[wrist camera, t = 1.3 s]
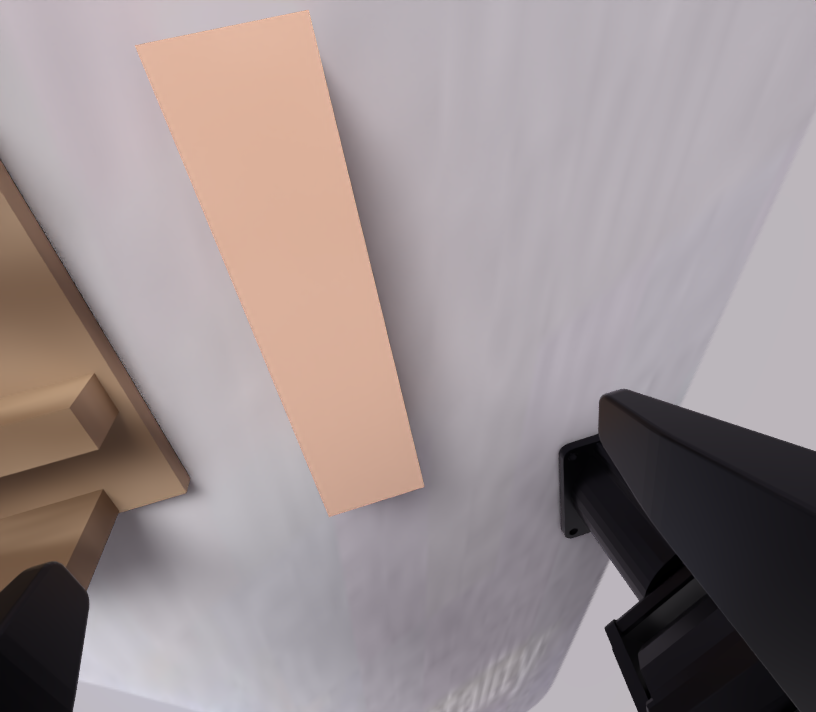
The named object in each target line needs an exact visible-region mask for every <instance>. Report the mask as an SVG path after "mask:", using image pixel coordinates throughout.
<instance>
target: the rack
mask: <svg viewBox="0 0 816 712" xmlns="http://www.w3.org/2000/svg"><path fill="white" fill-rule="evenodd" d="M189 482H190V477H189V476H188V474H187V472H186V471H185V469H184V467H183V466H182V464H181V462H180V461H179V459H178V457H177V455H176V454H175V452H174V450H173V449H172V447H171V445H170V444H169V442H168V440H167V439H166V437H165V435H164V434H163V432H162V430H161V429H160V427H159V425H158V424H157V422H156V420H155V419H154V417H153V415H152V414H151V412H150V410H149V409H148V407H147V405H146V403H145V402H144V400H143V398H142V397H141V395H140V393H139V392H138V390H137V388H136V387H135V385H134V383H133V382H132V380H131V378H130V377H129V375H128V373H127V372H126V370H125V368H124V367H123V365H122V363H121V362H120V360H119V358H118V357H117V355H116V353H115V352H114V350H113V348H112V346H111V345H110V343H109V341H108V340H107V338H106V336H105V335H104V333H103V331H102V330H101V328H100V326H99V325H98V323H97V321H96V320H95V318H94V316H93V315H92V313H91V311H90V310H89V308H88V306H87V305H86V303H85V301H84V300H83V298H82V296H81V295H80V293H79V291H78V289H77V288H76V286H75V284H74V283H73V281H72V279H71V278H70V276H69V274H68V273H67V271H66V269H65V268H64V266H63V264H62V263H61V261H60V259H59V258H58V256H57V254H56V253H55V251H54V249H53V248H52V246H51V244H50V243H49V241H48V239H47V238H46V236H45V234H44V232H43V231H42V229H41V227H40V226H39V224H38V222H37V221H36V219H35V217H34V216H33V214H32V212H31V211H30V209H29V207H28V206H27V204H26V202H25V201H24V199H23V197H22V196H21V194H20V192H19V191H18V189H17V187H16V186H15V184H14V182H13V181H12V179H11V177H10V175H9V174H8V172H7V170H6V169H5V167H4V165H3V164H2V162H1V160H0V591H1V590H3V589H4V588H5V587H6V586H7V585H8V584H9V583H10V582H11V581H12V580H13V579H14V578H15V577H17V576H18V575H19V574H20V573H21V572H22V571H24V570H26V569H28V568H30V567H33V566H37V565H40V564H43V563H47V562H50V561H57V562H59V563H61V564H63V565H64V566H65V567H66V569H67V570H68V571H69V572H70V573H71V574H72V575H73V576H74V577H75V578H76V580H77V581H78V582H79V583H80V584H81V585H82V586H83V587H84V588H85V590H86V591H87V589H88V586H89V584H90V581H91V579H92V576H93V574H94V572H95V569H96V567H97V564H98V562H99V559H100V557H101V554H102V552H103V550H104V547H105V545H106V542H107V540H108V537H109V535H110V532H111V530H112V528H113V525H114V523H115V520H116V518H117V515H118V513H121V512H125V511H128V510H131V509H135V508H138V507H141V506H145V505H148V504H151V503H155V502H158V501H161V500H165V499H168V498H171V497H175V496H178V495H181V494H185V493H187V490H188V486H189Z"/></svg>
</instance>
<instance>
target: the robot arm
mask: <svg viewBox="0 0 816 712" xmlns="http://www.w3.org/2000/svg"><path fill="white" fill-rule="evenodd" d="M598 432H599V434H597V435H594V436H591V437H588V438H585V439H581V440H578V441H575V442H572V443H569V444H566V445H565V446H563V447H562V448H561V450H560V452H559V467H560V503H561V530H562V532H563V533H564V535H565V536H566V537H567V538H574V537H577V536H580V535H583V534H586V533H589V532H591V533H592V534H593V536H594V537H595V539H596V540H597V541H598V543H599V544H600V546H601V547H602V549H603V550H604V551H605V553H606V554H607V556H608V557H609V558H610V560H611V561H612V563H613V564H614V565H615V567H616V568H617V570H618V571H619V573H620V574H621V575H622V577H623V578H624V580H625V581H626V582H627V584H628V585H629V587H630V588H631V590H632V591H633V592H634V594H635V595H636V597H637V598H638V600H639V602H638V603H637V604H636V605H634V606H633V607H632V608H631V609H630V610H628V611H627V612H626V613H625V614H624V615H622V617H620V618H619V619H618V620H613V621H611V622H610V623H609V624H608V625H607V626H606V627H605V631H606V633H607V636H608V638H609V640H610V643H611V645H612V650H613V652H614V655H615V657H616V660H617V662H618V665H619V667H620V669H621V672H622V674H623V677H624V679H625V681H626V684H627V686H628V689H629V691H630V693H631V696H632V698H633V701H634V703H635V706H636V708H637V710H638V712H816V451H813V450H810V449H807V448H804V447H801V446H798V445H795V444H792V443H789V442H786V441H783V440H780V439H777V438H774V437H771V436H768V435H764V434H762V433H758V432H755V431H752V430H749V429H746V428H743V427H740V426H737V425H734V424H731V423H728V422H725V421H722V420H719V419H716V418H713V417H710V416H707V415H704V414H700V413H698V412H695V411H692V410H689V409H685V408H682V407H679V406H676V405H673V404H670V403H667V402H664V401H661V400H658V399H655V398H652V397H649V396H646V395H643V394H640V393H637V392H634V391H631V390H627V389H620V390H616V391H613V392H610V393H606V394H604V395H602V396H601V398H600V400H599V424H598ZM571 453H572V454H571ZM88 612H89V597H88V594H87V591H86V590H85V588H84V587H83V586H82V585H81V584H80V583H79V582H78V581H77V580H76V578H75V577H74V576H73V575H72V574H71V573H70V572H69V571H68V570H67V569H66V567H65V566H64V565H63V564H61V563H59V562H57V561H50V562H47V563H43V564H40V565H37V566H33V567H30V568H28V569H26V570H24V571H22V572H21V573H20V574H19V575H18V576H17V577H15V578H14V579H13V580H12V581H11V582H10V583H9V584H8V585H7V586H6V587H5V588H4V589H3V590H1V591H0V712H73V707H74V701H75V696H76V690H77V684H78V677H79V671H80V664H81V658H82V651H83V645H84V638H85V632H86V625H87V619H88Z"/></svg>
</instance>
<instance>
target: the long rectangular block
mask: <svg viewBox="0 0 816 712" xmlns="http://www.w3.org/2000/svg"><path fill="white" fill-rule="evenodd" d="M135 47H136V49H137V52H138V54H139V57H140V59H141V61H142V64H143V66H144V69H145V71H146V74H147V76H148V78H149V81H150V83H151V86H152V88H153V91H154V93H155V95H156V98H157V100H158V103H159V105H160V108H161V110H162V112H163V115H164V117H165V120H166V122H167V125H168V127H169V129H170V132H171V134H172V137H173V139H174V142H175V144H176V146H177V149H178V151H179V154H180V156H181V159H182V161H183V163H184V166H185V168H186V171H187V173H188V176H189V178H190V180H191V183H192V185H193V188H194V190H195V193H196V195H197V197H198V200H199V202H200V205H201V207H202V210H203V212H204V214H205V217H206V219H207V222H208V224H209V227H210V229H211V231H212V234H213V236H214V239H215V241H216V244H217V246H218V248H219V251H220V253H221V256H222V258H223V261H224V263H225V265H226V268H227V270H228V273H229V275H230V278H231V280H232V282H233V285H234V287H235V290H236V292H237V295H238V297H239V299H240V302H241V304H242V307H243V309H244V312H245V314H246V316H247V319H248V321H249V324H250V326H251V329H252V331H253V333H254V336H255V338H256V341H257V343H258V346H259V348H260V350H261V353H262V355H263V358H264V360H265V363H266V365H267V367H268V370H269V372H270V375H271V377H272V380H273V382H274V384H275V387H276V389H277V392H278V394H279V396H280V399H281V401H282V404H283V406H284V409H285V411H286V413H287V416H288V418H289V421H290V423H291V426H292V428H293V430H294V433H295V435H296V438H297V440H298V443H299V445H300V447H301V450H302V452H303V455H304V457H305V460H306V462H307V464H308V467H309V469H310V472H311V474H312V477H313V479H314V481H315V484H316V486H317V489H318V491H319V494H320V496H321V498H322V501H323V503H324V506H325V508H326V511H327V513H328V515H329V517H331V516H334V515H337V514H340V513H343V512H347V511H350V510H353V509H356V508H359V507H362V506H366V505H369V504H372V503H375V502H378V501H382V500H385V499H388V498H391V497H394V496H397V495H401V494H404V493H407V492H410V491H413V490H417V489H420V488H423V487H424V483H423V479H422V475H421V470H420V466H419V462H418V458H417V454H416V450H415V446H414V442H413V438H412V433H411V429H410V425H409V421H408V417H407V413H406V409H405V405H404V401H403V396H402V392H401V388H400V384H399V380H398V376H397V372H396V368H395V363H394V359H393V355H392V351H391V347H390V343H389V339H388V335H387V331H386V326H385V322H384V318H383V314H382V310H381V306H380V302H379V298H378V293H377V289H376V285H375V281H374V277H373V273H372V269H371V265H370V261H369V256H368V252H367V248H366V244H365V240H364V236H363V232H362V228H361V224H360V219H359V215H358V211H357V207H356V203H355V199H354V195H353V191H352V186H351V182H350V178H349V174H348V170H347V166H346V162H345V158H344V154H343V149H342V145H341V141H340V137H339V133H338V129H337V125H336V121H335V116H334V112H333V108H332V104H331V100H330V96H329V92H328V88H327V84H326V79H325V75H324V71H323V67H322V63H321V59H320V55H319V51H318V47H317V42H316V38H315V34H314V30H313V26H312V22H311V18H310V14H309V10H305V11H300V12H296V13H291V14H286V15H281V16H276V17H271V18H266V19H261V20H257V21H252V22H247V23H242V24H237V25H232V26H227V27H222V28H218V29H213V30H208V31H203V32H198V33H193V34H188V35H183V36H178V37H174V38H169V39H164V40H159V41H154V42H149V43H144V44H139V45H135Z"/></svg>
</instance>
